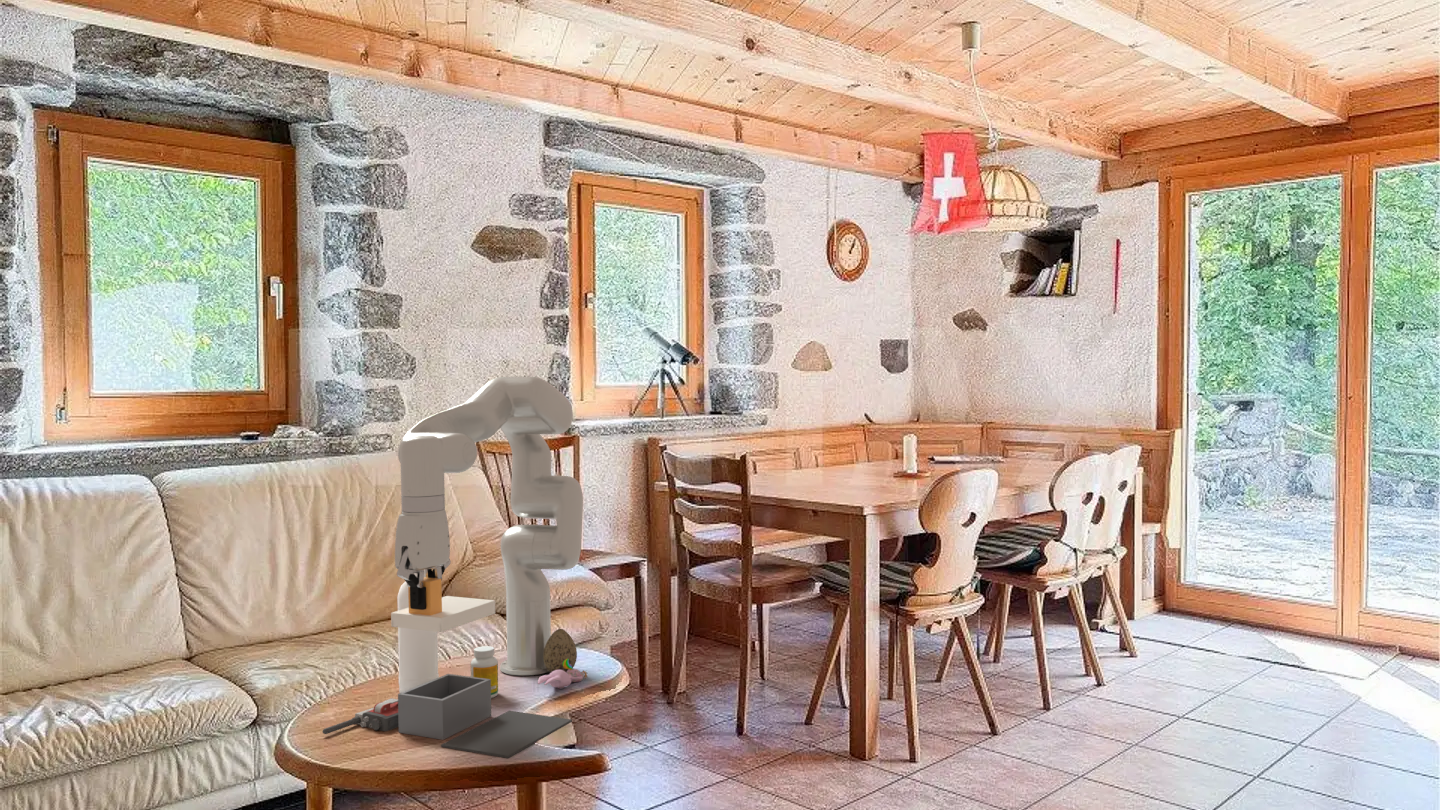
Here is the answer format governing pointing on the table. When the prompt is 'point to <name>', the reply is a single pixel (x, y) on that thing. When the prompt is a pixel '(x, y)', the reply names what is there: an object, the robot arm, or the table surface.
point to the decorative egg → (559, 651)
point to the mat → (507, 734)
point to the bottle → (415, 650)
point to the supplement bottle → (486, 666)
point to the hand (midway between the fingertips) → (425, 605)
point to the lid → (441, 610)
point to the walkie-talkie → (373, 717)
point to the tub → (444, 706)
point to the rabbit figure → (563, 676)
